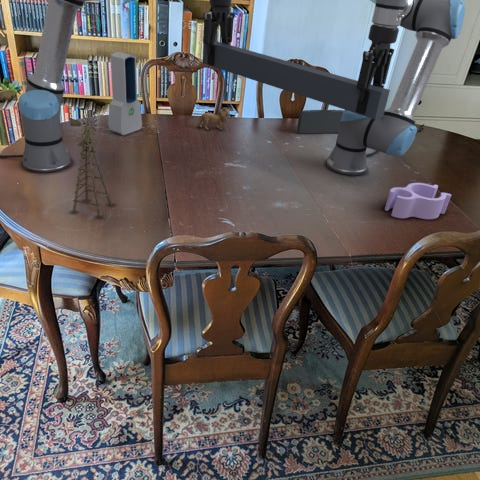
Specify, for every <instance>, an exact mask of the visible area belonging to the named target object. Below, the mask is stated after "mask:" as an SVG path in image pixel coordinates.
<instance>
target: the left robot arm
mask: <svg viewBox="0 0 480 480" xmlns="http://www.w3.org/2000/svg"><path fill="white" fill-rule="evenodd" d="M208 2H209V6H210V8H209V11H208V12H203V14H202V15H203V16H202V17H203V30H202V31H203V34H202V44H203V43H205V44H206V45H207V55H208V61H207V64H209V65H212V66H213V65H214V57H215V46H213V45H214V41H216V35H217V32H218V28H219V30H220V42H221V43H224V44H228V45H231V43H232V42H233V32H234V20H235V16H236V12H232V11H231V10H230V7H231V5H232V0H209V1H208ZM84 4H85V0H48V2H47V6H46V11H45V16H44V22H43V27H42V32H41V37H40V43H39V47H38V53H37V58H36V64H35V69H34V73H33V74H31V75H29V76H28V79H27V83H26V87H25V88H26V89H25V92H22V93H21V94H20V96H18V97H19V98H18V111H19V112H20V119H21V125H22V132H23V137H24V148H23V153H22V154H10V155H9V154H8V155H7V154H6V155H5V154H1V155H0V158H3V159H4V158H6V159H7V158H21V159H22V160H21V161H22V166H23V168H24V169H25V170H27V171H29V172H33V173H39V174H46V173H56V172H61V171H63V170H66V169H67V168H69V167H70V166H71V163H72V159H71V155H70V153H69V149H68V147H67V146H66V145H65V143H64V140H63V132H62V123H61V109H62V107H61V106H62V102H63V98H64V93H65V86H64V84H63V82H62V81H63V76H64V73H65V67H66V63H67V58H68V53H69V48H70V44H71V40H72V35H73V30H74V26H75V21H76V17H77V13H78V10H79V9H81V8H84ZM210 41H211V42H210ZM209 65H208V66H209ZM212 66H211V67H212Z"/></svg>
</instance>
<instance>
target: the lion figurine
mask: <svg viewBox="0 0 480 480" xmlns="http://www.w3.org/2000/svg"><path fill="white" fill-rule="evenodd" d="M230 113H231V112H230V109H229V108H228V107H223V108H221V110H220V111H218V112H216V113H209V112H204V113H202V114H201V115H200V118H199V121H198V125H196V129H198V128H202V127H204V128H205V130H206V131H209V129H210V128H209V127H207V125H208V123H209V122H210V123H214V124H216V128H217V129H219V130H220V131H223V128H222V126H223V123H226V122H227V120H228V119H229V118H230ZM203 123H204V124H203ZM202 124H203V125H202Z"/></svg>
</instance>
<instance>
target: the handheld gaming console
mask: <svg viewBox="0 0 480 480" xmlns="http://www.w3.org/2000/svg"><path fill="white" fill-rule="evenodd" d="M343 111H344V109H310V110H308V109H307V110H301V111H300V112H299V113H298V119H297V125H296V131H297V132H298V133H299V134H333V133H335V134H338V131H339V126H340V120H341V117H342V114H343Z"/></svg>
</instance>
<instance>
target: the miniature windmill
mask: <svg viewBox="0 0 480 480" xmlns="http://www.w3.org/2000/svg"><path fill="white" fill-rule="evenodd" d="M89 110H91V112H90V113H87V112H89ZM95 113H96V111H95V110H94V108H92V109H91V107H89V108H87V110H86V109H85V110H84V113H82V117H83V118H81V119H80V120H81V121H80V120H78V119H74V118H71V117H69V125H70V127H73V128H75V127H76V128H80V127H82V128H80V129H79V130H80V132H81V134H80V135H81V137H82V140H81V141H80V142H78V143H77V144H76V146H78V147H81V151H80V153H79V154H80V159H79V166H78V168H77V171H78V174H77V176H76V178H77V180H76V183H75V186H76V187H75V191H74V199H73V200H72V201H73V207H72V213H76V210H77V203H80V204H86V205H91V206H95V207H96V214H97V217H98V218H100V217H101V212H100V205H101V204H102V203H103V202H104V201H105V200H106V199H107V203H108V205H109V206H112V200H111V197H110V194H111V193H109V190H108V188H107V185H106V182H105V177H104V176H103V173H102V170H101V167H100V166H101V164H100V163H99V161H98V157H97V155H96V153H97V151H96V150H95V148H94V147H96V146H97V145H99V144H100V142H98V140H97V141H95V140H94V137H95V136H96V132H97V131H98V130H97V128H95V127H97V126H98V123H96V122H98V119H97V118H96V117H97V114H95ZM93 140H94V141H93ZM84 152H85V153H84ZM92 156H93V158H94V160H95V163H94V162H92ZM84 159H85V160H84ZM83 161H85V163H84V164H83ZM88 165H89V166H88ZM93 166H96V167H94V168H93ZM88 167H89V168H90V169H89V168H88ZM96 170H97V171H98V173H99V176H95V175H94V172H95V171H96ZM89 173H90V175H89ZM82 175H85V176H83V178H82V179H81V176H82ZM89 178H91V182H92V184H91V185H90V184H89V180H88V179H89ZM95 179H98V180H100V181H99V182H98V183H96V180H95ZM83 181H85V182H84V183H81V182H83ZM100 184H102V186H103V189H104V191H100V190H99V191H98V190H97V187H98V186H99V185H100ZM84 187H85V189H84V190H83V191H82V192H81V193H79V191H80V190H81V189H82V188H84ZM89 188H93V189H89ZM89 192H92V193H94V201H95V203H92V202H88V200H89ZM78 194H79V195H78ZM83 194H85V195H84V196H85V197H84V198H85V201H82V200H78V199H79V198H80V197H81V196H82V195H83ZM98 194H101V195H105V196H104V197H103V198H102V199H101V200H100V201H99V200H98V199H99V198H98Z"/></svg>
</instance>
